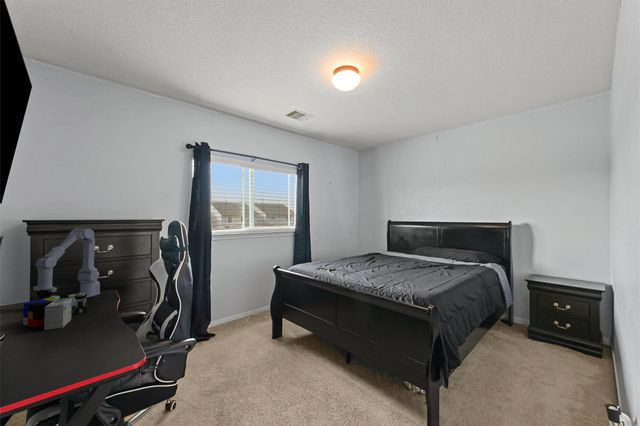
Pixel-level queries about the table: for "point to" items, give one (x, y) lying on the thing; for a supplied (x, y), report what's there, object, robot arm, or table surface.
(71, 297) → the grey block
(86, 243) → the robot arm
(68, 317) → the light bulb box
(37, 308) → the puzzle toy
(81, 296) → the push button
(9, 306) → the table surface
